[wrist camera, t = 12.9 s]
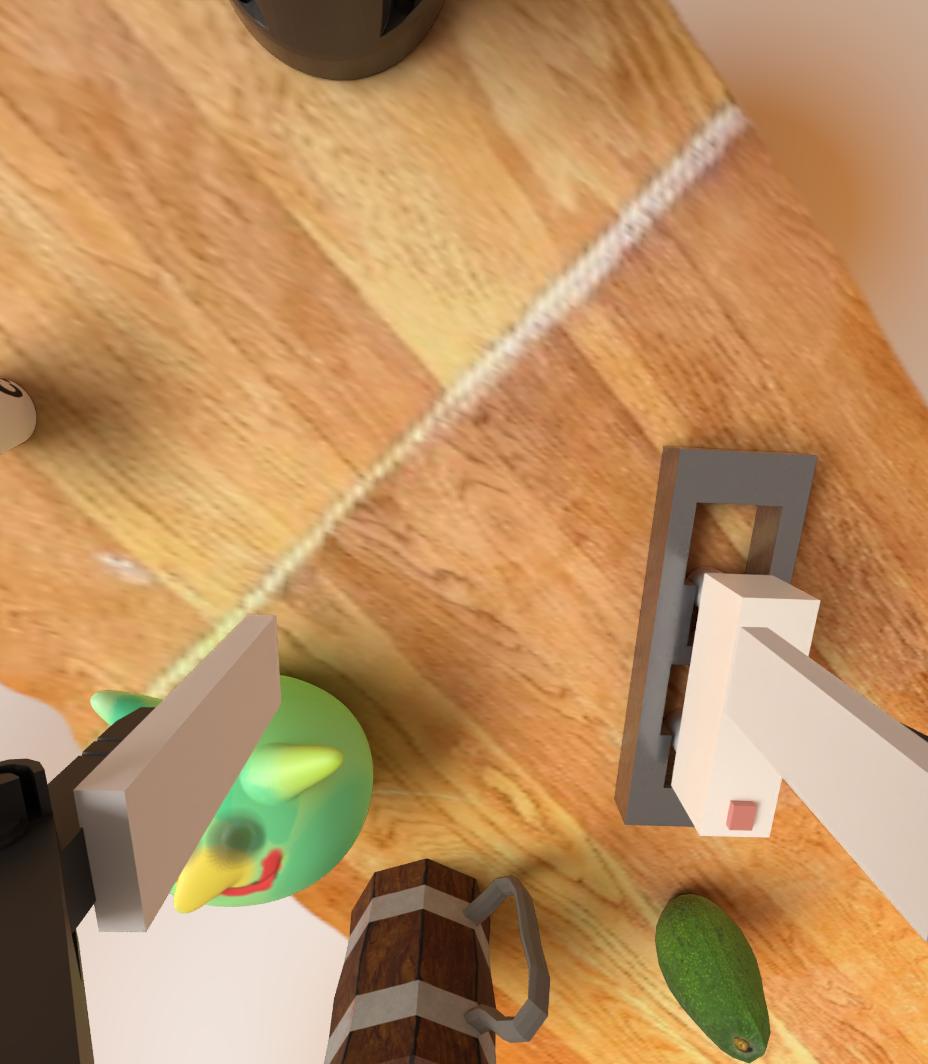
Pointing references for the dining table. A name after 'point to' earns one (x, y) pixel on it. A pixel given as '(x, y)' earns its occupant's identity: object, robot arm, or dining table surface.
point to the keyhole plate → (670, 597)
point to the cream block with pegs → (702, 724)
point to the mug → (430, 971)
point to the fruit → (713, 975)
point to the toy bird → (277, 802)
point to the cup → (15, 415)
